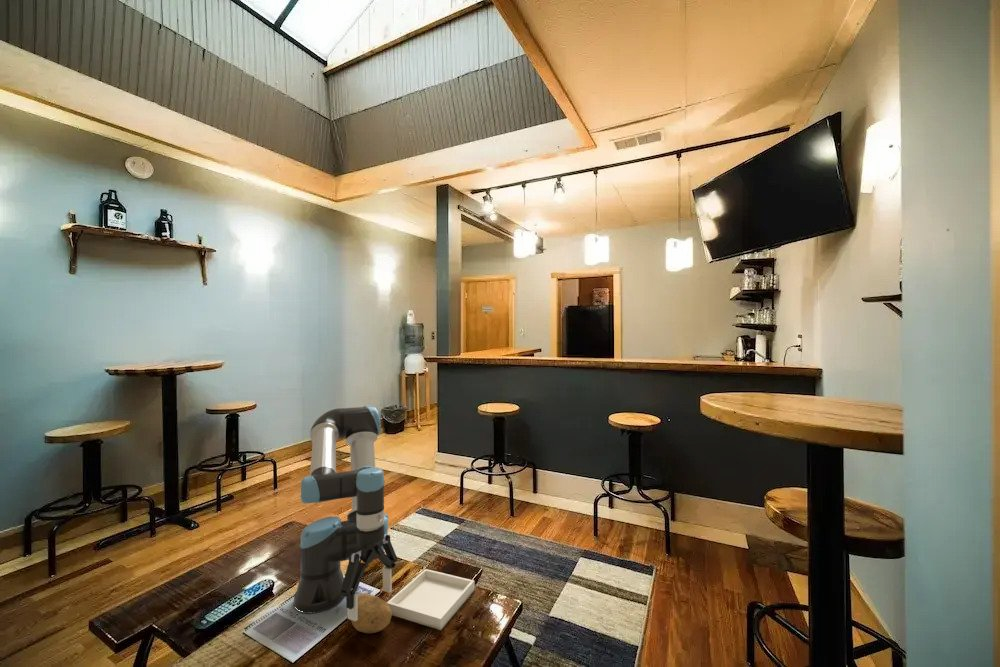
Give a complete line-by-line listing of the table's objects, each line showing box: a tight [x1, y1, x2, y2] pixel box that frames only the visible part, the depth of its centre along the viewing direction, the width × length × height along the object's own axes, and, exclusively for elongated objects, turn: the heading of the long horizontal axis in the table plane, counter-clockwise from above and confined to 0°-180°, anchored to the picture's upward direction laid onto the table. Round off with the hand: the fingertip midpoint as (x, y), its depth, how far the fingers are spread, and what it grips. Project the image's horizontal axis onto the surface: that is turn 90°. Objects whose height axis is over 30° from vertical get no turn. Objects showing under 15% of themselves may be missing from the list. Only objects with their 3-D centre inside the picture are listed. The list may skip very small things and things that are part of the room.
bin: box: [386, 568, 476, 631], centre depth 122 cm, size 19×20×3 cm
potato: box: [350, 592, 392, 634], centre depth 110 cm, size 10×14×8 cm
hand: (371, 604), depth 110 cm, fingers open, 13 cm apart
